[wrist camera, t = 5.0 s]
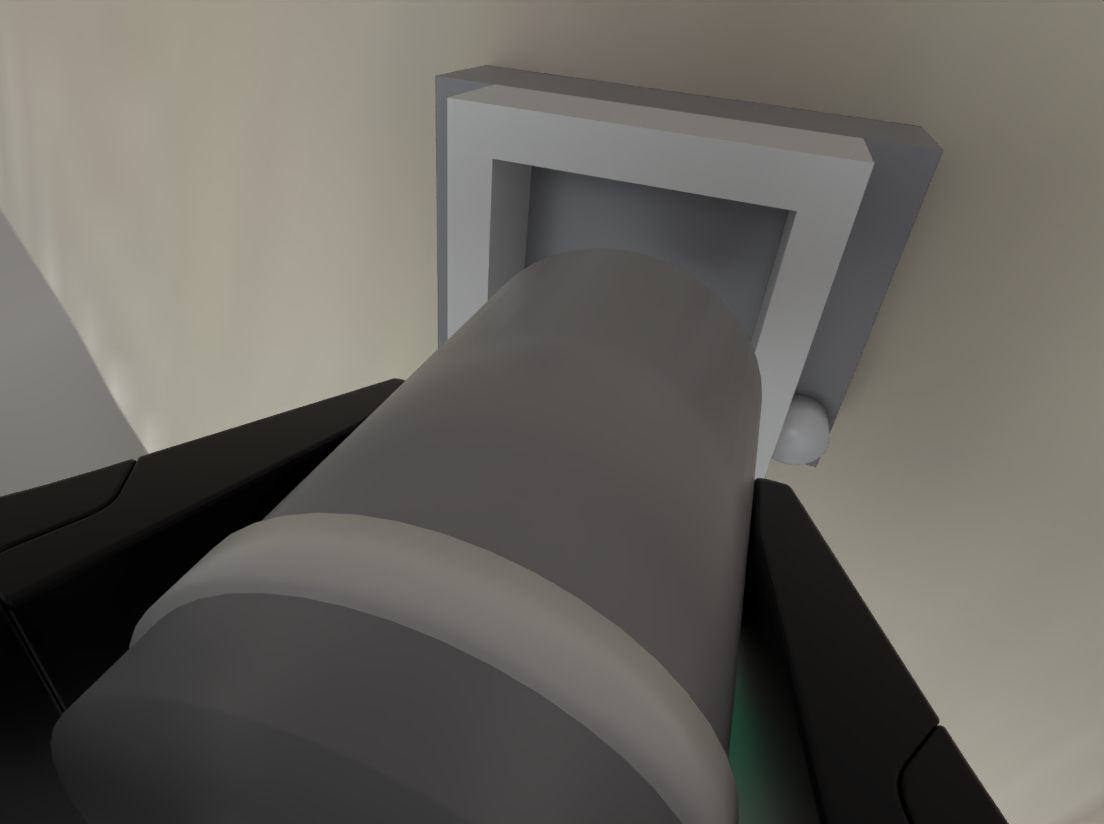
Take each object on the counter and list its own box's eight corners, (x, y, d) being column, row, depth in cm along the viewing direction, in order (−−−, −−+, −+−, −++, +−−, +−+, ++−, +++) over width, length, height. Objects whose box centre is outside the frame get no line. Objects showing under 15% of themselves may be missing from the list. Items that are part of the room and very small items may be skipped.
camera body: (920, 126, 15) (969, 178, 11) (814, 409, 20) (818, 528, 15) (485, 65, 18) (379, 87, 13) (478, 331, 22) (396, 414, 18)
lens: (816, 282, 8) (859, 950, 2) (722, 546, 11) (635, 1165, 5) (472, 209, 9) (-85, 570, 3) (462, 468, 12) (139, 919, 6)
